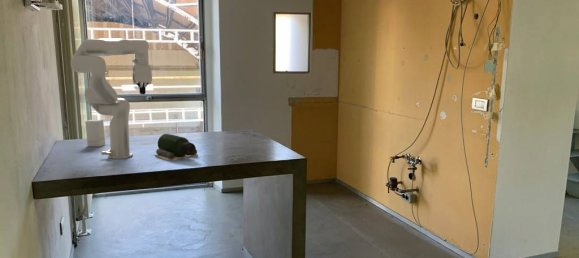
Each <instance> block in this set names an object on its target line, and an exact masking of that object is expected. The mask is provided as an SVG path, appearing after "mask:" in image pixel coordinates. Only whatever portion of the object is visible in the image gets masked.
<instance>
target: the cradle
mask: <svg viewBox="0 0 579 258" xmlns="http://www.w3.org/2000/svg"><path fill="white" fill-rule="evenodd" d="M155 153H156V154H155V155H154V156H155V157H156V158H159V159H162V160H165V161H167V162H171V161H176V160H182V159H188V158H194V157H199V153H198V150H197V149H196V151H195V153H194V154H193V155H185V156H181V157H180V156H176V155H175V154H174V153H171V152H168V151H165V150H162V149H159V148H158V149H156V150H155Z"/></svg>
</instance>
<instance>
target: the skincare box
mask: <svg viewBox="0 0 579 258" xmlns="http://www.w3.org/2000/svg"><path fill="white" fill-rule="evenodd" d="M84 122H85V131H86V144H87V147H97V148H98V147H99V148H100V147H104V146H105V145H106V137H105V135H106V134H105V127H104V125H105V124H104V119H89V120H85V121H84Z"/></svg>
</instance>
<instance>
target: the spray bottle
mask: <svg viewBox="0 0 579 258" xmlns="http://www.w3.org/2000/svg"><path fill="white" fill-rule="evenodd" d="M157 147H158V149H162V150H165V151H168V152H171V153H174V154H175V155H176V156H180V157H181V156H185V155H193V154H194V153H195V151H196V150H197V148H196V147H197V146H196V145H195V144H194V143H193V142H190V141H189V139H187V138H186V137H184V136H183V137H182V136H178V135H175V134H169V133H163V134H162V135H160V136H159V138H158V140H157Z"/></svg>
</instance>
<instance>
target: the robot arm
mask: <svg viewBox="0 0 579 258" xmlns="http://www.w3.org/2000/svg"><path fill="white" fill-rule="evenodd" d="M149 47H150V46H149V42H148V41H147V40H146V39H143V38H142V39H141V38H140V39H139V38H138V39H137V38H132V39H131V38H128V39H127V38H87V39H85V40H83V42H81V44H80V45H79V47H78V48H77V49H76V51H75V52H74V54H73V55H72V57H71V59H70V67H71V70H72V71H73V72H75V73H79V74H90V78H89V80H88V86H87V87H86V88H85V90H84V98H85V100H86V102H87V103H88V105H89V106H90V107H92V109H93V110H95V111H96V112H97V114H100V115H102V116H110V117H111V116H112V118H111V120H110V122H109V141H110V148H108V149H107V150H102V151H101V155H102V156H105V155H106V156H107V158H109V159H113V160H114V159H115V160H117V159H118V160H120V159H121V160H123V159H128V158H131V157H133V156H134V154H133V152H130V151H131V150H130V132H129V131H130V129H129V128H130V127H129V126H130V125H129V115H130V111H131V110H130V109H131V106H130V102H129V100H127V99H125V98H123V97H122V98H121V97H118V93H117V91H116V90H115V88H113V86H112V85H111V84H110V83H109V82H108V80H107V79H106V71H107V70H106V69H107V63H106V61H105V59H104V58H103V57H110V56H125V55H126V56H128V55H132V54H133V55H134V59H132V63H134V64H133V66H132V67H133V68H132V81H133V82H132V84H133V85H136V86H137V87H138V88H139V89H138V90H139V94H140V95H146V88H147V86H148V85H151V84H152V81H153V73H152V68H151V67H152V66H151V65H150V64H149Z"/></svg>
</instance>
